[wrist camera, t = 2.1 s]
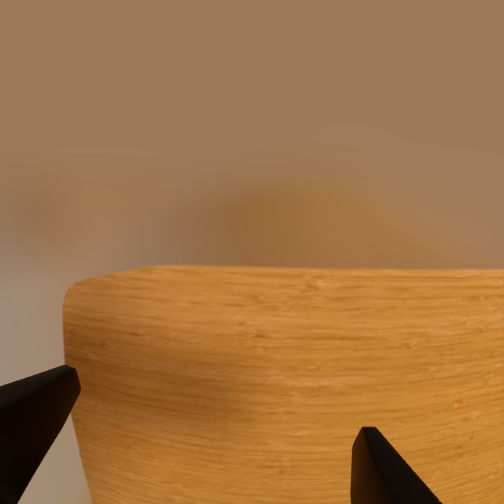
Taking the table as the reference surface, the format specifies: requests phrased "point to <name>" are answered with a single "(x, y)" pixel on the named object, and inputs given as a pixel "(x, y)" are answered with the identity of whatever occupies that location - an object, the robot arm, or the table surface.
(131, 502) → the table surface
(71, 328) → the table surface
